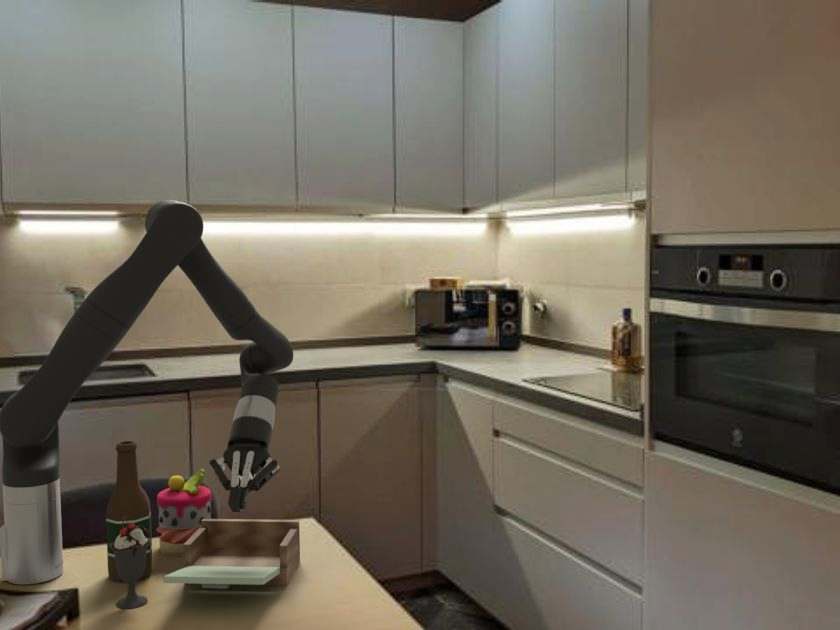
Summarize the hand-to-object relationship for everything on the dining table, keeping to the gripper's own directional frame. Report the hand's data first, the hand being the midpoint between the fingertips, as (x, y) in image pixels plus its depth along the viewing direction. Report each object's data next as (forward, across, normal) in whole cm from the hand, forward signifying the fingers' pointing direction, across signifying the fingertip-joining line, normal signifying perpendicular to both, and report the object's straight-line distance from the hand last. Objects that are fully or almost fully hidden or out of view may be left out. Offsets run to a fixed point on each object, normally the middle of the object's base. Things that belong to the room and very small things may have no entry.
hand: (236, 510), depth 151 cm
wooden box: (+6, 0, +12) cm, 14 cm away
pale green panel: (+8, 0, +6) cm, 10 cm away
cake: (-3, -15, +22) cm, 27 cm away
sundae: (+16, -15, +2) cm, 22 cm away
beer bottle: (+8, -20, +11) cm, 24 cm away
